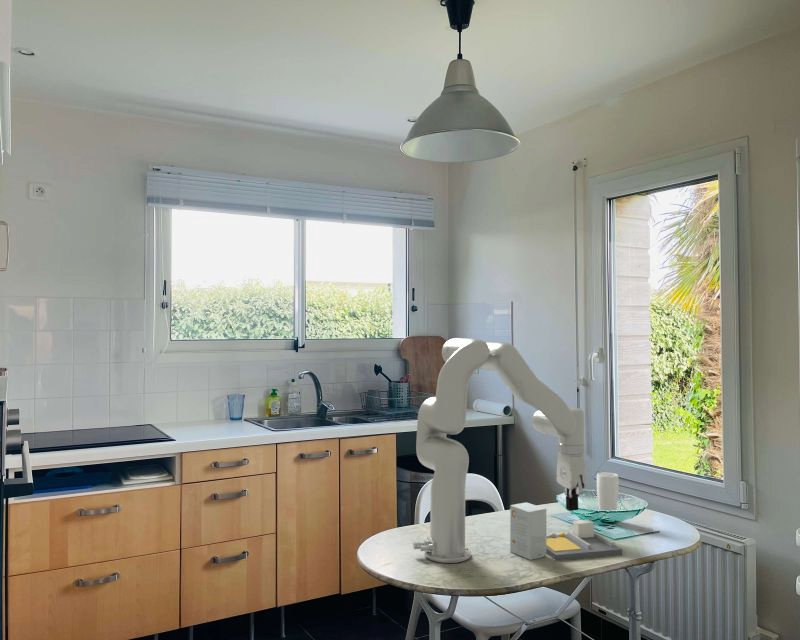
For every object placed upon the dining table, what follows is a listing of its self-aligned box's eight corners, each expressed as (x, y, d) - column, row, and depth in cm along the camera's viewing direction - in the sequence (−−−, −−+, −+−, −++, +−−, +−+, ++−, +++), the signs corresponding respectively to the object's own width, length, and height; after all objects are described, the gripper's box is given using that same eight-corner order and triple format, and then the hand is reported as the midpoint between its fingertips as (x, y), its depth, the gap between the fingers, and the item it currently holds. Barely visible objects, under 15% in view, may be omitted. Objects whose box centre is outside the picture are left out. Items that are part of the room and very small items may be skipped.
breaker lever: (578, 538, 191) (578, 523, 191) (573, 535, 193) (573, 520, 193) (593, 537, 192) (593, 522, 192) (588, 533, 195) (588, 519, 195)
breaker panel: (555, 560, 177) (555, 551, 177) (531, 542, 192) (531, 533, 192) (622, 554, 182) (622, 545, 182) (593, 537, 197) (593, 528, 197)
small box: (547, 556, 181) (547, 508, 181) (529, 560, 177) (529, 512, 177) (526, 547, 187) (526, 501, 188) (509, 551, 184) (509, 504, 184)
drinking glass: (610, 517, 217) (610, 471, 217) (622, 523, 211) (623, 476, 211) (592, 518, 215) (592, 472, 215) (604, 525, 209) (604, 477, 209)
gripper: (548, 445, 206) (549, 504, 206) (572, 454, 192) (573, 518, 192) (570, 443, 208) (571, 502, 208) (595, 453, 194) (596, 515, 194)
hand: (572, 509), depth 200 cm, fingers closed
